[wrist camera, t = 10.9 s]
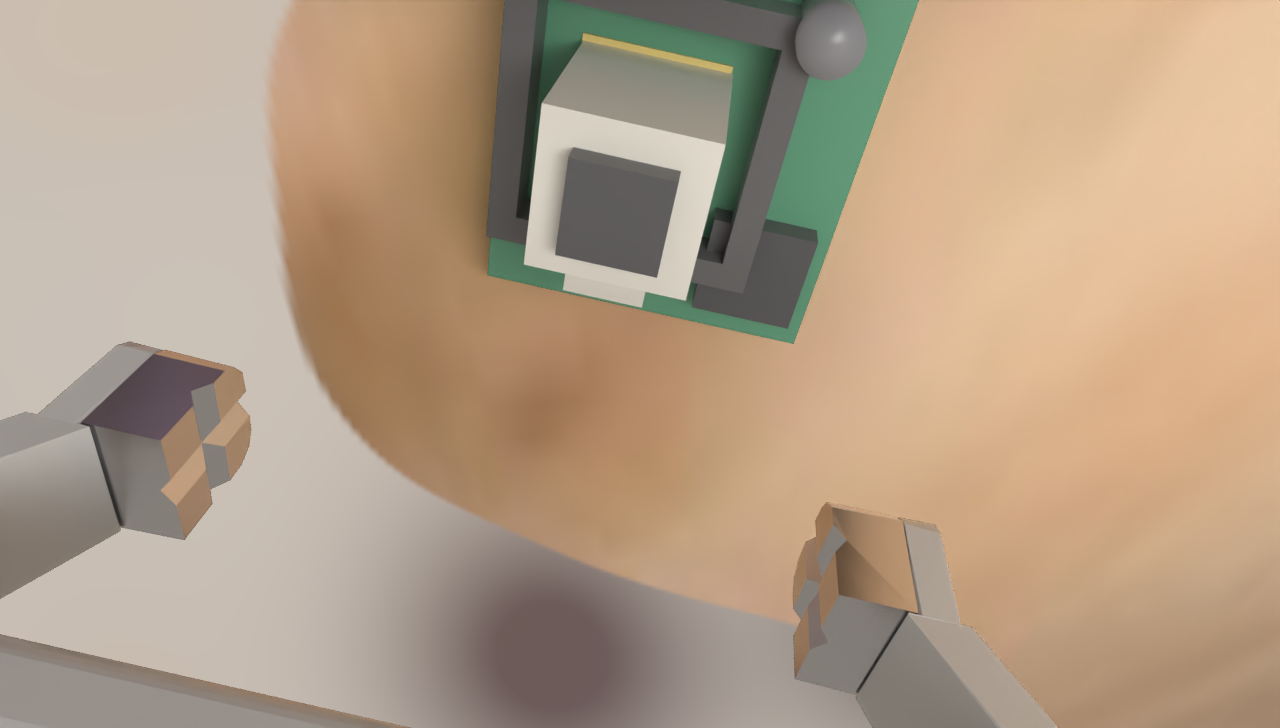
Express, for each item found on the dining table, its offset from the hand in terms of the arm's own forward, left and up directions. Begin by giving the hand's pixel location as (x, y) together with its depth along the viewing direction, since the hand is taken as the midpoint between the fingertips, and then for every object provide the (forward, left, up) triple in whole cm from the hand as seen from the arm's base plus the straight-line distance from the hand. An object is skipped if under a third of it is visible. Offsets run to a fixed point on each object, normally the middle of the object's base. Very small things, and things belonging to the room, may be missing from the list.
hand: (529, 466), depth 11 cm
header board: (-1, 0, -15) cm, 15 cm away
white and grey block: (0, 0, -14) cm, 14 cm away
